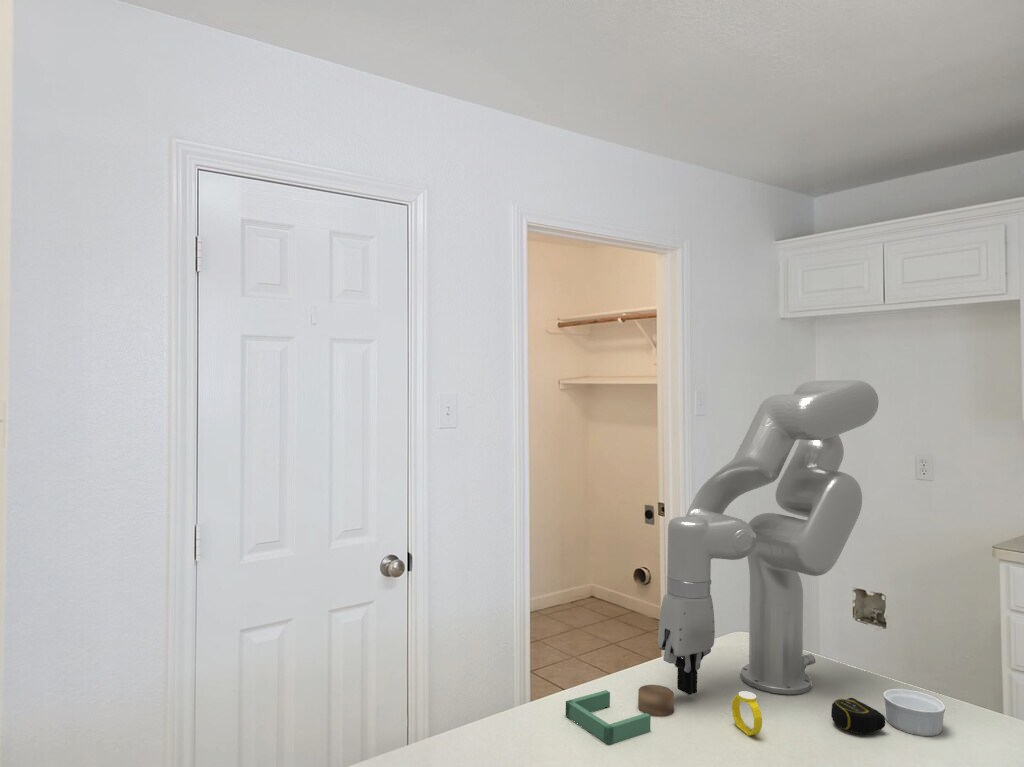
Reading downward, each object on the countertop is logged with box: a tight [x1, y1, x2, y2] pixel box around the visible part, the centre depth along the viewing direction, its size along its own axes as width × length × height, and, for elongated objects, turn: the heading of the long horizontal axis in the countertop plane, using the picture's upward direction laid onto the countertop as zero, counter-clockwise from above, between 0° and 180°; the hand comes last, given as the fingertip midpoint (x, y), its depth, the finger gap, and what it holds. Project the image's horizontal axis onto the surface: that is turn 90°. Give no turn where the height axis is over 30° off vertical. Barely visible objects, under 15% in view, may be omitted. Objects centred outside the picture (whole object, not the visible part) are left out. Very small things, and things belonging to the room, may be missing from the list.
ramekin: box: [883, 688, 946, 737], centre depth 113 cm, size 9×9×4 cm
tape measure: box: [830, 697, 886, 735], centre depth 112 cm, size 7×7×4 cm
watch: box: [731, 690, 763, 737], centre depth 110 cm, size 6×3×6 cm, turn 18°
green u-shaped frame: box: [565, 689, 652, 746], centre depth 112 cm, size 9×11×2 cm
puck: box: [637, 684, 675, 718], centre depth 118 cm, size 6×6×3 cm
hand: (687, 691), depth 122 cm, fingers closed
